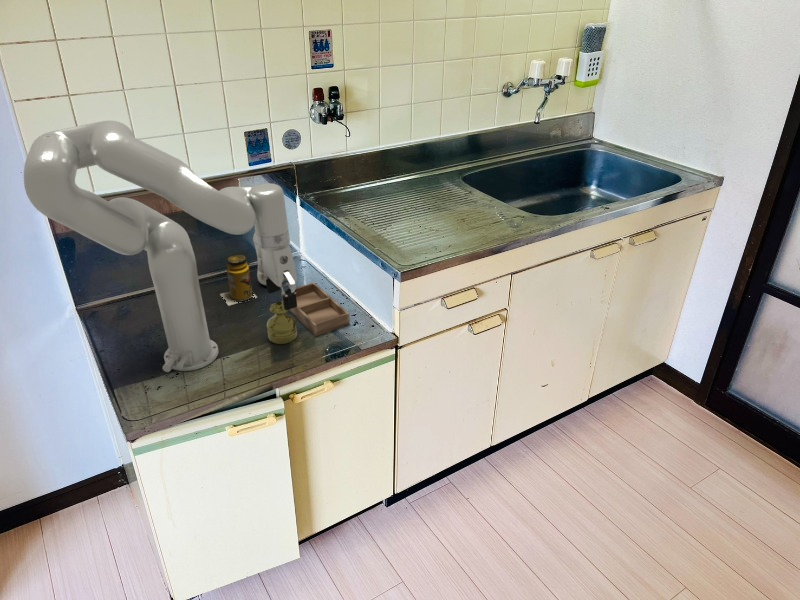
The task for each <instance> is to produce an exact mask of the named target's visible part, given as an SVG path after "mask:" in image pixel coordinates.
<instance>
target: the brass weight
mask: <svg viewBox="0 0 800 600" xmlns="http://www.w3.org/2000/svg"><path fill="white" fill-rule="evenodd" d="M269 311H270V312H271V313H272V314H274V315H272V317H270V318H269V319H268V320H267V322H266V329H267V331H266V332H267V337H268V339H269V341H270V342H271V343H274V344H277V345H285V344H288V343H291V342H293V341H295V339H297V338H298V337H297V336H298V331H297V330H298V328H297V320H296V318H295V316H292V315H289V314H288V313H287V312H289V310H285V309H284V304H283V302H282V301H276V302H274V303H272V304H270V306H269Z"/></svg>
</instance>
